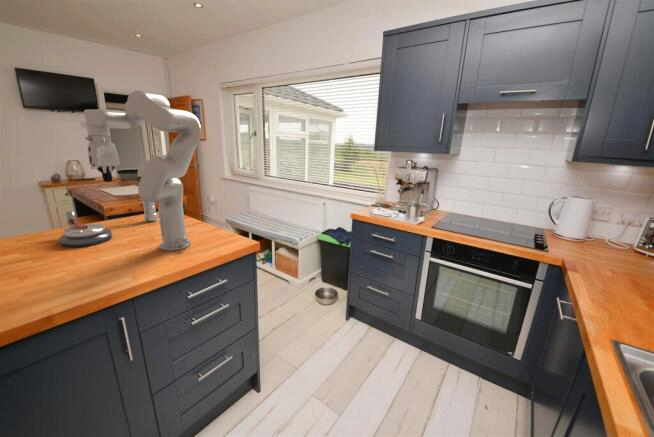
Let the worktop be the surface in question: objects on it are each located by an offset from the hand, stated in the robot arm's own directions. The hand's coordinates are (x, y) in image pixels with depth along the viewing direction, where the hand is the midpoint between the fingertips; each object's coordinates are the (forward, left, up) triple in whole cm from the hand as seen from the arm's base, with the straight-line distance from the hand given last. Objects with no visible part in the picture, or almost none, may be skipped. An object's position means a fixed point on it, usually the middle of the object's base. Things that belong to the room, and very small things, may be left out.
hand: (108, 181), depth 124 cm
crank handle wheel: (+9, +10, -24) cm, 27 cm away
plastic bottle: (+13, -23, -27) cm, 38 cm away
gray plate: (+6, +10, -27) cm, 29 cm away
